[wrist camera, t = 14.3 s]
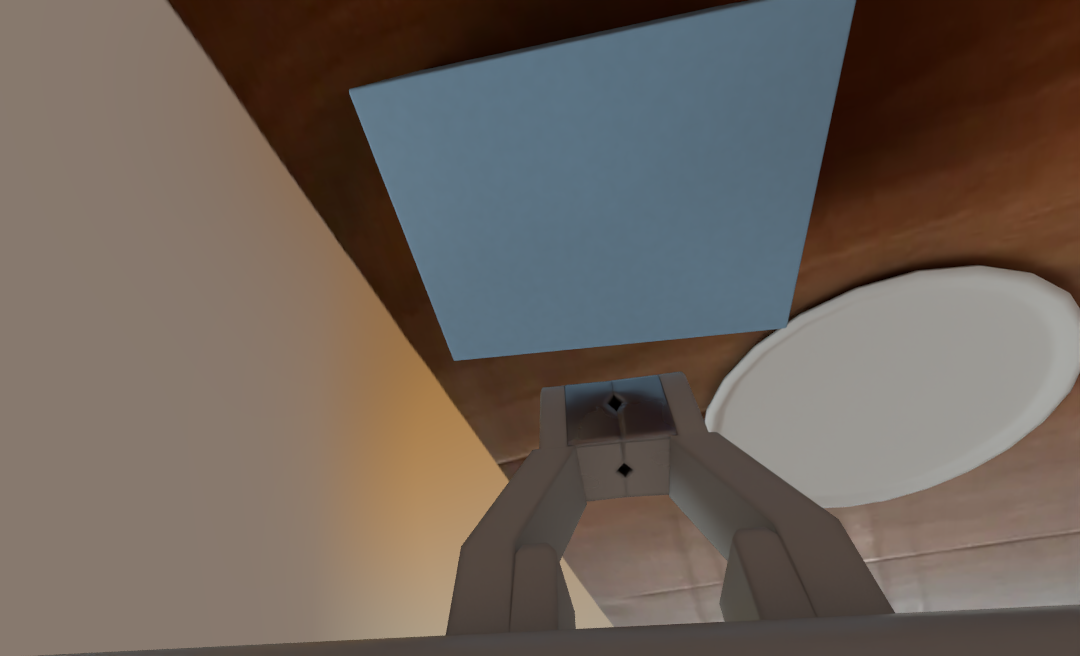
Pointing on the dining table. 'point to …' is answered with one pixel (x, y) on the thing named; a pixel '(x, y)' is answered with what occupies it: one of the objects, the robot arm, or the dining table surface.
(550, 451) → the robot arm
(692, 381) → the dining table surface
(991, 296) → the plate
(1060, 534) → the dining table surface
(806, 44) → the case lid
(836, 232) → the dining table surface
